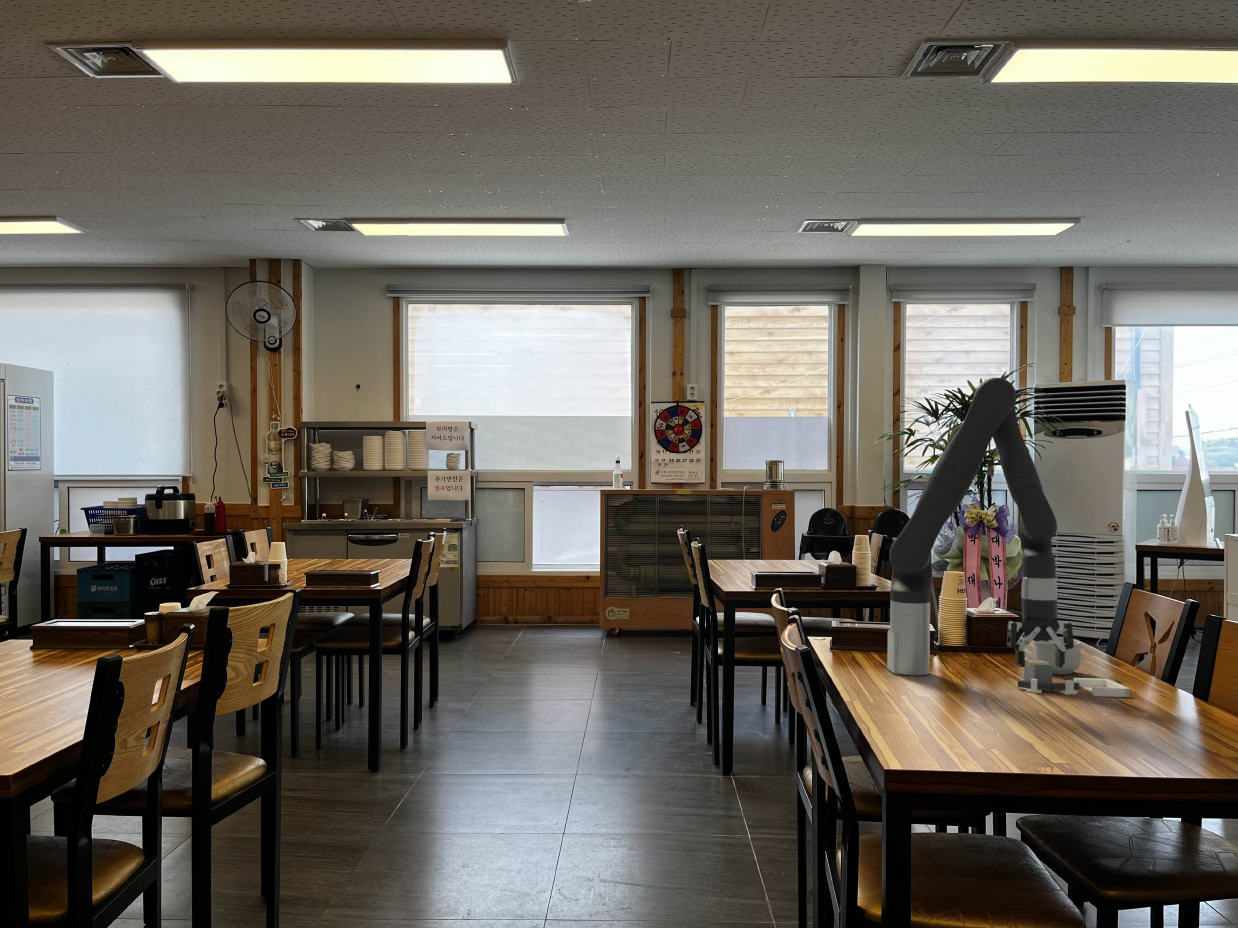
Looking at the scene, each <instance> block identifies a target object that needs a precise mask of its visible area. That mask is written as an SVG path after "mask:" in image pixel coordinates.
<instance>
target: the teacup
mask: <svg viewBox="0 0 1238 928" xmlns="http://www.w3.org/2000/svg"><path fill="white" fill-rule="evenodd" d="M1057 637H1058V638H1059V639H1060V640H1061V642H1062V644H1063V643H1064V641H1063V636H1057ZM1031 642H1032V649H1033V650H1032V651H1033V660H1043V661H1046V662H1048V663H1049V664H1051V665H1052V675H1061V676H1062V675H1063V676H1064V675H1071V674H1073V673H1074V672H1075V671H1076V670H1077V669H1079V667H1080V666H1081V659H1082V654H1081V650H1082V648H1081V647H1082V646H1081V645H1082V642H1081V641H1080V640H1078V639H1075V638H1073V643H1074V647H1073V648H1072V649H1067V650H1066V651H1065V664H1064V665H1063V667H1062V668H1058V667H1056V665H1055V650H1057V649H1056V647H1055V646H1054V645H1053V643H1052V642H1050V640H1049V641H1043V640H1041V641H1033V640H1032V641H1031Z"/></svg>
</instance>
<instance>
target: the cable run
mask: <svg viewBox="0 0 1238 928" xmlns="http://www.w3.org/2000/svg"><path fill="white" fill-rule="evenodd" d="M1017 688H1021V689H1027V688H1030V689H1031V681H1026V680H1024V679H1018V680H1017ZM1037 689H1039V690H1042V691H1047V692H1048V691H1049V692H1051V691H1052V692H1056V691H1063V690H1065V681H1064V682H1052V683H1044V682H1037ZM1074 691H1080V687H1079V683H1077V682H1074Z"/></svg>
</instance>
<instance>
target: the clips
mask: <svg viewBox="0 0 1238 928" xmlns="http://www.w3.org/2000/svg"><path fill="white" fill-rule="evenodd" d="M1064 682H1065V690H1063V691H1055V692H1057V693H1060V694H1062V695H1066V696H1067V695H1077V694H1078V690H1074V680H1071V679H1068V680H1067V679H1066V680H1065V681H1064ZM1025 689H1026V690H1025V692H1027V693H1034V694H1042V692H1043V690H1039V689H1037V679H1031V689H1030V688H1025Z"/></svg>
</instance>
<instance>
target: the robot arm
mask: <svg viewBox="0 0 1238 928" xmlns="http://www.w3.org/2000/svg"><path fill="white" fill-rule="evenodd" d="M1017 396H1018V394H1017V391H1016V389H1015V387H1014V385H1013V384H1012V383H1011V382H1010V381H1009V380H1007V379H1005V378H1002V377H992V378H988V379H986V380H983V381H982V382H981V383H980V384H979V385H977V387H976V388H975V391H974V394H973V399H972V401H971V403H970V406H969V409H968V411H967V413H966V414H965V417H964V420H963V421H962V424H961V426H960V427H959V429H958V430H957V432H956V434H955V435H954V436H953V437H952V439H951V441H949V443H948V444H947V445H946V447H945V449H944V450H943V452H942V453H941V455H940V457H939V458H938V460H937V461H936V463H935V466H934V467H933V469H932V471H931V472H930V475H929V477H928V479H927V481H926V483H925V485H924V487H923V490H922V492H921V495H920V496H919V499H918V501H917V504H916V506H915V508H914V510H913V513H912V515H911V517H910V518H909V519H908V522H907V523H906V524H905V526H904V527H903V529H902V530H901V532H900V533H899V535H897V538H896V539H895V540H894V541H893V543H892V544H891V546H890V549H889V555H888V556H889V561H890V563H891V565H892V573H891V574H892V579H891V587H890V591H889V592H890V594H889V595H890V601H889V602H890V605H889V606H890V607H889V608H890V612H889V613H890V616H889V617H890V618H889V619H890V621H889V622H890V623H889V629H888V630H887V655H886V656H887V659H886V663H887V666H886V669H887V670H888V671H890V672H892V674H896V675H897V674H898V675H899V674H900V675H903V676H904V675H906V676H925V675H929V674H930V667H931V665H930V656H931V655H930V646H931V643H930V641H931V639H930V637H931V634H930V633H931V628H930V627H931V591H932V575H933V574H932V571H933V569H932V567H933V565H932V561H933V559H932V558H933V555H932V549H933V548H934V546H935V543H936V541H937V538H938V537H939V534H940V532H941V530H942V529H943V527H944V525H945V524H946V523H947V521H948V520H949V519H950V517H951V516H952V515H953V514H954V512H955V511H956V510H957V509H958V507H959V505H960V504H961V502H962V501H963V499H964V497H965V496H966V495H967V493H968V491H969V489H970V487H971V485H972V484H973V481H974V480H975V478H976V476H977V474H978V473H979V470H980V468H981V465H982V463H983V460H984V458H985V456H986V454H987V453H986V452H987V450H988V447H989V444H990V442H991V440H992V439H993V442H994V445H995V449H996V451H997V454H998V458H999V461H1000V466H1001V469H1002V473H1003V476H1004V479H1005V482H1006V485H1007V488H1008V492H1009V494H1010V496H1011V499H1012V501H1013V502H1014V503H1015V504H1016V506H1017V508H1018V511H1019V515H1020V518H1021V519H1020V523H1019V535H1020V536H1019V537H1020V545H1021V553H1022V568H1021V569H1022V581H1021V592H1020V595H1021V621H1020V622H1017V621H1016V622H1015V621H1011V620H1009V621H1008V622H1007V631H1006V632H1007V633H1006V646H1007V647H1009V648H1011V649H1014V651H1015V664H1017V665H1018V667H1020V668H1024V667H1025V659H1026V654H1025V649H1026V647H1027V646H1028V645H1029V644H1031V643H1032V642H1033V641H1041V640H1043V641H1049V640H1050V642H1052V643H1053V645H1054V646H1055V647H1056V649H1057V650H1055V665H1056V667H1058V668H1062V667H1063V665H1064V664H1065V651H1066V650H1067V649H1072V648H1073V647H1074V643H1073V639H1074V634H1073V624H1072V623H1071V622H1069V621H1065V620H1064V621H1062V622H1059V621H1058V585H1057V579H1056V578H1057V576H1056V575H1057V574H1056V571H1057V570H1056V568H1057V566H1056V557H1055V556H1054V553H1053V546H1052V545H1053V544H1052V543H1053V542H1052V540H1053V538H1054V537H1055V536H1056V533H1057V530H1058V523H1057V519H1056V516H1055V514H1054V513H1055V512H1054V511H1053V510H1052V507H1051V505H1050V503H1049V501H1048V499H1047V497H1046V495H1045V493H1044V490H1043V485H1042V482H1041V479H1040V477H1039V473H1038V470H1037V468H1036V465H1035V463H1034V460H1033V458H1032V456H1031V453H1030V451H1029V449H1028V447H1027V444H1026V443H1025V439H1024V438H1023V434H1022V432H1021V429H1020V426H1019V422H1018V417H1017V410H1016V403H1017ZM1020 628H1021V629H1022V631H1023V633H1022V634H1021V635H1020V637H1019V639H1018V641H1017V633H1019V631H1020ZM1059 629H1060V631H1061V632H1062V637H1063V641H1064V643H1063V644H1062V642H1061V640H1060V639H1059V638H1058V637H1059V636H1058V635H1057V634H1056V633H1057V632H1058V630H1059ZM1032 640H1033V641H1032Z"/></svg>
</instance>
